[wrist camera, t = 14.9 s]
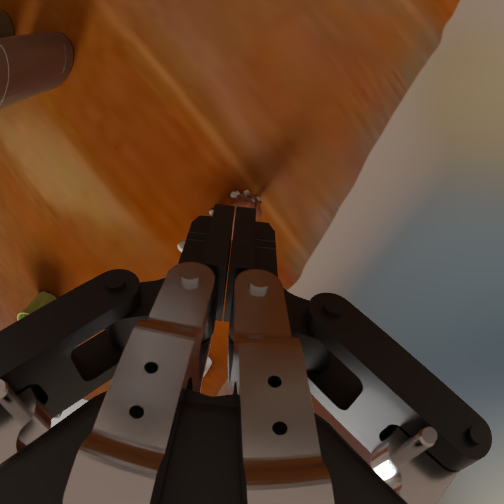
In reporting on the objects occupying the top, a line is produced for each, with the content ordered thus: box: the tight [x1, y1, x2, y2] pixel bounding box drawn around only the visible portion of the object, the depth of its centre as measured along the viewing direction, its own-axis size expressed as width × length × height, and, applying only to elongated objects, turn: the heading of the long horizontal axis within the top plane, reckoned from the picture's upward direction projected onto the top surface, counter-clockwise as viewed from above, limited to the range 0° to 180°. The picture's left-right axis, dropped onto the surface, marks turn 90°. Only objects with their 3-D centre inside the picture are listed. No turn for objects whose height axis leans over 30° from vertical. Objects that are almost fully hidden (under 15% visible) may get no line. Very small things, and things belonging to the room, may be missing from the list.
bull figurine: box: [177, 190, 262, 252], centre depth 44 cm, size 4×13×8 cm, turn 124°
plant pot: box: [17, 291, 57, 320], centre depth 57 cm, size 9×9×9 cm
